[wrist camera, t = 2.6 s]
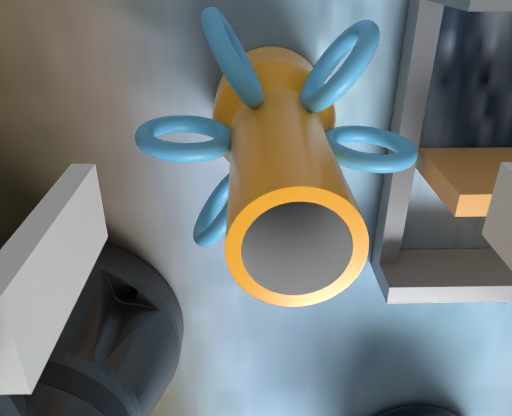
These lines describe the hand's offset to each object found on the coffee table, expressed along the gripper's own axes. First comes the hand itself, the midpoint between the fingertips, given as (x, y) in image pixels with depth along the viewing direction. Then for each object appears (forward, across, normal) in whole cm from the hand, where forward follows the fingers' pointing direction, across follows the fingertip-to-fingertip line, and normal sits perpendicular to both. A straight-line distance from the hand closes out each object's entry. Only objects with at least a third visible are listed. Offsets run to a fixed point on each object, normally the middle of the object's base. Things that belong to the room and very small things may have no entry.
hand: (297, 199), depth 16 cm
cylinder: (+12, 0, 0) cm, 12 cm away
